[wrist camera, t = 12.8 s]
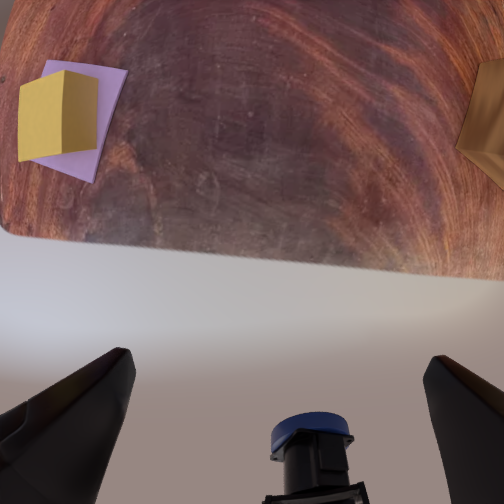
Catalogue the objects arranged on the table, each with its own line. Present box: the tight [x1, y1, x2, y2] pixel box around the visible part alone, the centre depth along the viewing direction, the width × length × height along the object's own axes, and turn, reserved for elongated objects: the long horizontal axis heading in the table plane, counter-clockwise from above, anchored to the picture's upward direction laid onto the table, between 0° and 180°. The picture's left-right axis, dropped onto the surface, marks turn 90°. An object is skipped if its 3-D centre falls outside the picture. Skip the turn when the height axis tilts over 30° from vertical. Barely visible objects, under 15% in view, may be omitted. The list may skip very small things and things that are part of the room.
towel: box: [31, 60, 129, 183], centre depth 16 cm, size 8×8×1 cm
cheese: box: [18, 70, 99, 162], centre depth 14 cm, size 5×4×4 cm
